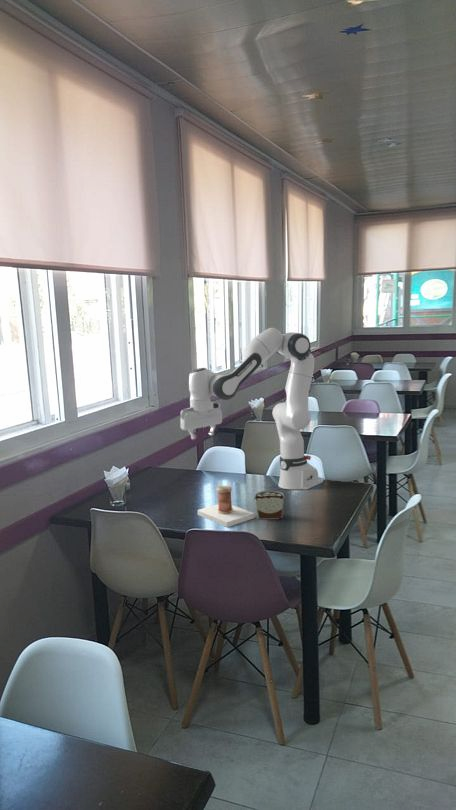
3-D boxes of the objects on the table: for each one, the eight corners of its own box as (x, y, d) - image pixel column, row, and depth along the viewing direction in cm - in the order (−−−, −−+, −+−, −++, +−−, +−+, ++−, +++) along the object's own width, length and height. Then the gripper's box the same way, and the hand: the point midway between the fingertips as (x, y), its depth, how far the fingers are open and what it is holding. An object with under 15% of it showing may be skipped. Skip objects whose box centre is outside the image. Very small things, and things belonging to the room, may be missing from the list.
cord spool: (226, 508, 236) (225, 484, 235) (236, 511, 231) (234, 487, 230) (214, 511, 232) (213, 488, 231) (223, 515, 228) (222, 491, 226)
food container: (286, 513, 232) (285, 489, 230) (286, 518, 226) (285, 494, 224) (255, 513, 233) (254, 490, 232) (255, 519, 227) (253, 495, 226)
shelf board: (224, 506, 244) (224, 502, 244) (254, 518, 228) (254, 513, 228) (197, 514, 236) (197, 510, 236) (226, 527, 220) (226, 522, 220)
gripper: (184, 410, 238) (186, 442, 240) (223, 403, 250) (225, 434, 252) (176, 408, 243) (178, 440, 245) (214, 402, 255) (216, 432, 257)
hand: (202, 437), depth 248 cm, fingers open, 8 cm apart
